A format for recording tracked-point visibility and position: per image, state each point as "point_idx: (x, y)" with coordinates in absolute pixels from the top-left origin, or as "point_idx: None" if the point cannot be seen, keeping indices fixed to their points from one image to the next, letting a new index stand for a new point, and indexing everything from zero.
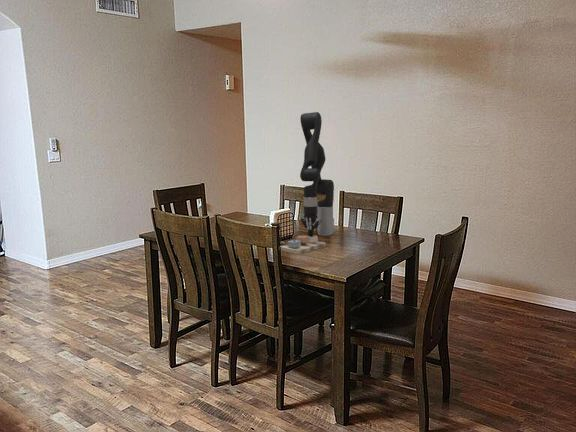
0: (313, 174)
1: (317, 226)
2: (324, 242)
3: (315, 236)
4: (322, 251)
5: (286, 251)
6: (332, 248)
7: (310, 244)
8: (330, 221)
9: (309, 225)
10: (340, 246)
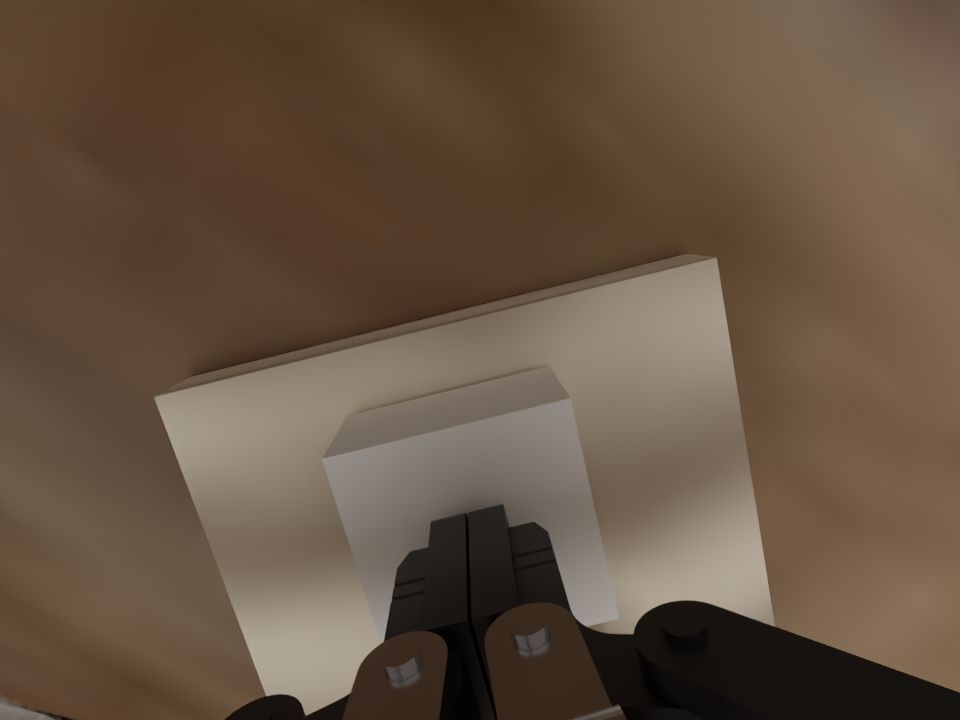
0: None
1: (837, 668)
2: (688, 270)
3: (558, 457)
4: (916, 528)
5: None
6: (905, 262)
7: (618, 593)
8: None
9: None
10: (917, 19)
